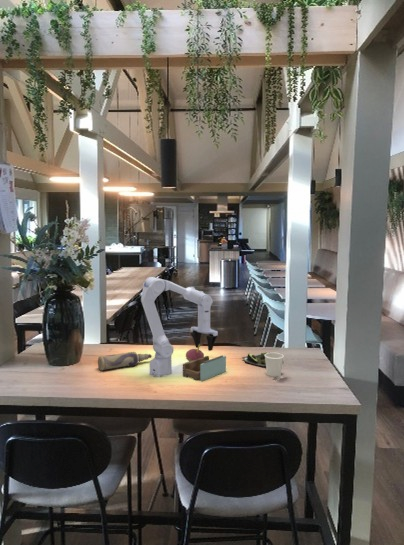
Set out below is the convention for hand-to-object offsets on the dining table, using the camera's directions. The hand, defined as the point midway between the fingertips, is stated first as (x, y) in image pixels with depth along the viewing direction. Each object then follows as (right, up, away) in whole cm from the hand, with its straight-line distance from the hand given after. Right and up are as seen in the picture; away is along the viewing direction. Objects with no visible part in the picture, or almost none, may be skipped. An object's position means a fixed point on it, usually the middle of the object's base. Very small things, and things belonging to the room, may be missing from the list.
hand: (204, 348), depth 201 cm
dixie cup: (+30, -11, -11) cm, 34 cm away
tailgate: (+4, -10, -13) cm, 16 cm away
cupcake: (-5, -8, +7) cm, 12 cm away
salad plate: (+28, -9, +11) cm, 32 cm away
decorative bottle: (-37, -10, +5) cm, 39 cm away
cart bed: (0, -11, -9) cm, 14 cm away
